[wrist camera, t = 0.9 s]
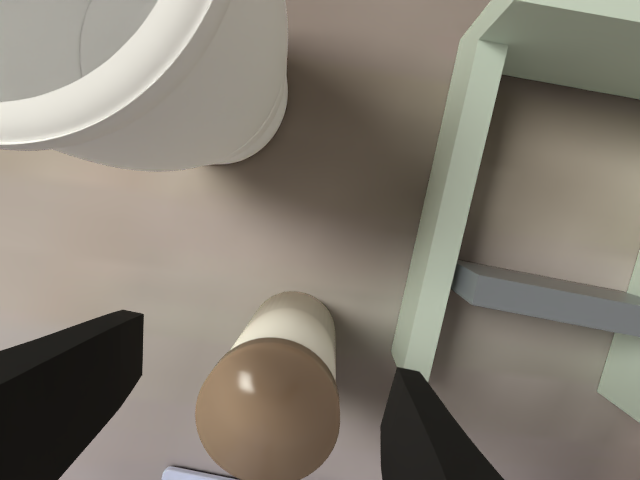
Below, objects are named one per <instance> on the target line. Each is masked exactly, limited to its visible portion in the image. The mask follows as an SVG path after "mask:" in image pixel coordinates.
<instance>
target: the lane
mask: <svg viewBox="0 0 640 480" xmlns="http://www.w3.org/2000/svg"><path fill="white" fill-rule="evenodd" d="M501 75H507V76H513V77H518V78H524V79H529V80H535V81H540V82H546V83H552V84H557V85H563V86H568V87H574V88H579V89H585V90H590V91H596V92H601V93H607V94H612V95H618V96H623V97H629V98H634V99H640V0H491V1H490V3H489V4H488V5H487V6H486V8H485V9H484V10H483V11H482V13H481V14H480V15H479V16H478V18H477V19H476V20H475V21H474V23H473V24H472V25H471V26H470V28H469V29H468V30H467V32H466V33H465V34H464V35H463V37H462V38H461V39H460V43H459V47H458V52H457V56H456V61H455V65H454V70H453V74H452V79H451V83H450V88H449V92H448V97H447V101H446V106H445V110H444V115H443V119H442V124H441V128H440V133H439V137H438V142H437V146H436V151H435V155H434V160H433V164H432V169H431V173H430V178H429V182H428V187H427V191H426V196H425V200H424V205H423V209H422V214H421V218H420V223H419V227H418V232H417V236H416V241H415V245H414V250H413V255H412V259H411V264H410V268H409V273H408V277H407V282H406V286H405V291H404V295H403V300H402V304H401V309H400V313H399V318H398V322H397V327H396V331H395V336H394V340H393V345H392V349H391V353H392V356H393V358H394V361H395V364H396V366H397V367H401V368H406V369H410V370H415V371H420V373H421V374H422V375H423V377H424V378H425V379H426V381H427V382H428V381H429V377H430V373H431V368H432V364H433V360H434V356H435V352H436V347H437V343H438V339H439V335H440V331H441V326H442V322H443V318H444V314H445V310H446V305H447V301H448V297H449V293H450V289H451V284H452V280H453V276H454V272H455V268H456V263H457V259H458V255H459V251H460V247H461V242H462V238H463V234H464V230H465V226H466V222H467V217H468V213H469V209H470V205H471V201H472V196H473V192H474V188H475V184H476V180H477V175H478V171H479V167H480V163H481V159H482V154H483V150H484V146H485V142H486V138H487V133H488V129H489V125H490V121H491V117H492V112H493V108H494V104H495V100H496V96H497V91H498V87H499V83H500V79H501ZM627 293H630V294H633V295H636V296H639V297H640V250H639V254H638V257H637V260H636V264H635V267H634V270H633V273H632V277H631V280H630V283H629V287H628V290H627ZM597 392H598V393H599V394H601V395H602V396H603V397H605V398H606V399H608V400H609V401H610V402H612V403H613V404H614V405H616V406H617V407H618V408H620V409H621V410H623V411H624V412H625V413H627V414H628V415H629V416H631V417H632V418H633V419H635V420H636V421H638V422H639V423H640V337H636V336H631V335H626V334H621V333H616V332H615V333H614V336H613V340H612V343H611V346H610V350H609V353H608V356H607V360H606V363H605V366H604V370H603V373H602V376H601V379H600V383H599V386H598V389H597Z"/></svg>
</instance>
